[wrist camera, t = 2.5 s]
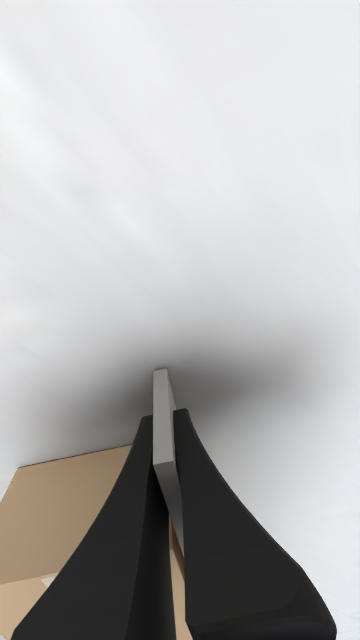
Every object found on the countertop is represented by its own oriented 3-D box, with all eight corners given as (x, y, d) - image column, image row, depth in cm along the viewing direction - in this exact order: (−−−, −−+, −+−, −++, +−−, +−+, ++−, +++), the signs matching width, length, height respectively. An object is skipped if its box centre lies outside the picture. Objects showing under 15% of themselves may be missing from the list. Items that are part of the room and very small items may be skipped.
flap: (208, 541, 18) (226, 646, 14) (200, 542, 18) (214, 649, 14) (166, 368, 12) (173, 460, 8) (153, 370, 12) (152, 464, 8)
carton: (195, 541, 19) (209, 655, 14) (81, 564, 19) (56, 687, 14) (166, 437, 14) (172, 552, 10) (17, 467, 14) (-48, 597, 10)
